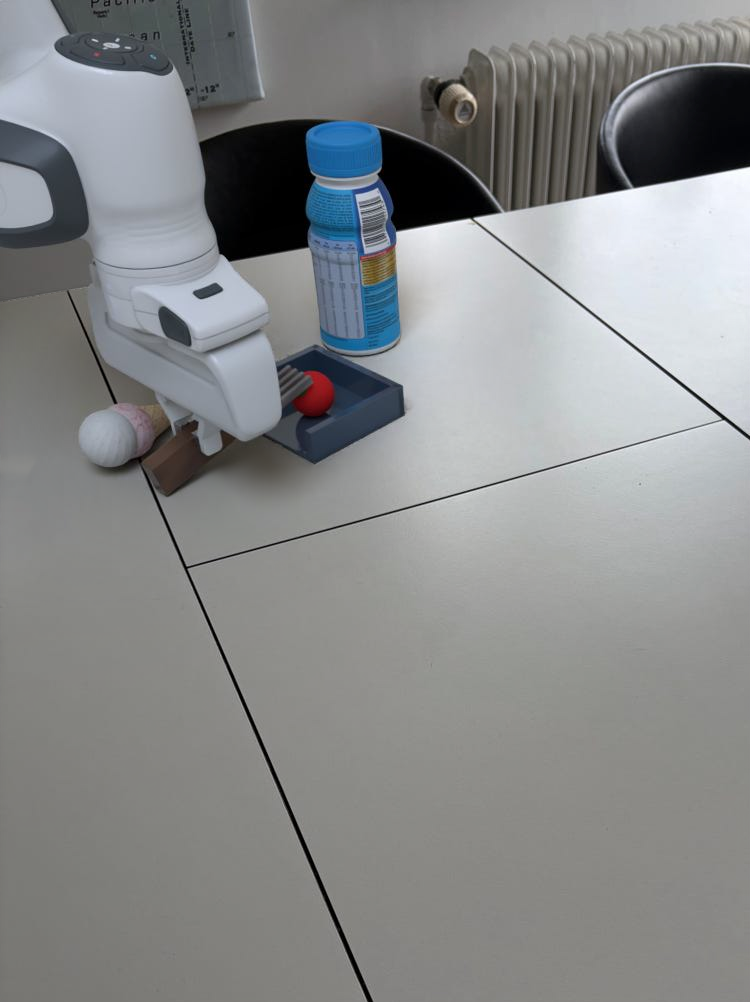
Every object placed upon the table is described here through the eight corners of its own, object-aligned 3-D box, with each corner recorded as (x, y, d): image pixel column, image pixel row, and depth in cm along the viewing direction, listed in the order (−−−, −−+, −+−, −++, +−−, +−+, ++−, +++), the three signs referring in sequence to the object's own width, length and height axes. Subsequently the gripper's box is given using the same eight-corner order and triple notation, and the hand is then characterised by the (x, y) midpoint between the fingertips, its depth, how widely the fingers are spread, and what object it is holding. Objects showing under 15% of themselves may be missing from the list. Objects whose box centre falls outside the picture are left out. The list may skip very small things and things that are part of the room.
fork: (172, 500, 85) (157, 474, 83) (150, 485, 87) (134, 459, 85) (313, 383, 91) (303, 355, 89) (290, 371, 93) (279, 344, 90)
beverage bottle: (316, 359, 103) (290, 147, 90) (323, 321, 110) (299, 117, 96) (401, 358, 104) (388, 145, 90) (403, 319, 110) (391, 115, 96)
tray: (228, 415, 96) (222, 386, 94) (318, 372, 101) (315, 343, 99) (314, 463, 90) (310, 433, 88) (405, 414, 96) (403, 385, 93)
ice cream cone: (171, 404, 99) (59, 450, 87) (187, 364, 96) (74, 406, 84) (209, 435, 99) (103, 485, 87) (226, 396, 96) (119, 442, 84)
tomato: (303, 419, 97) (275, 405, 93) (315, 377, 97) (287, 362, 93) (336, 425, 95) (308, 411, 91) (348, 382, 95) (321, 366, 91)
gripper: (51, 258, 81) (96, 415, 90) (211, 339, 71) (243, 507, 80) (120, 234, 84) (157, 388, 94) (283, 309, 74) (306, 472, 83)
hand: (198, 443), depth 87 cm, fingers closed on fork
